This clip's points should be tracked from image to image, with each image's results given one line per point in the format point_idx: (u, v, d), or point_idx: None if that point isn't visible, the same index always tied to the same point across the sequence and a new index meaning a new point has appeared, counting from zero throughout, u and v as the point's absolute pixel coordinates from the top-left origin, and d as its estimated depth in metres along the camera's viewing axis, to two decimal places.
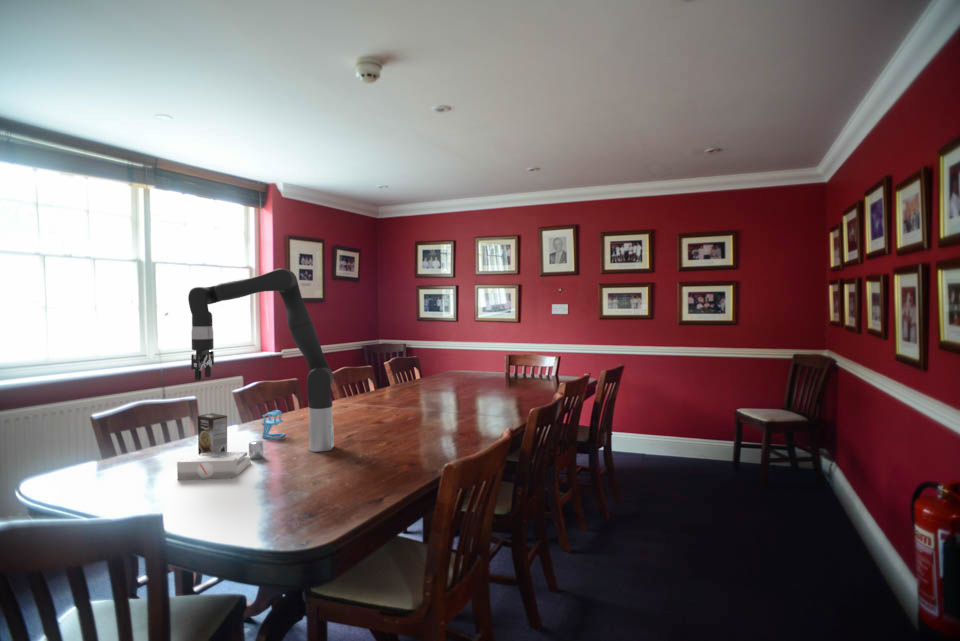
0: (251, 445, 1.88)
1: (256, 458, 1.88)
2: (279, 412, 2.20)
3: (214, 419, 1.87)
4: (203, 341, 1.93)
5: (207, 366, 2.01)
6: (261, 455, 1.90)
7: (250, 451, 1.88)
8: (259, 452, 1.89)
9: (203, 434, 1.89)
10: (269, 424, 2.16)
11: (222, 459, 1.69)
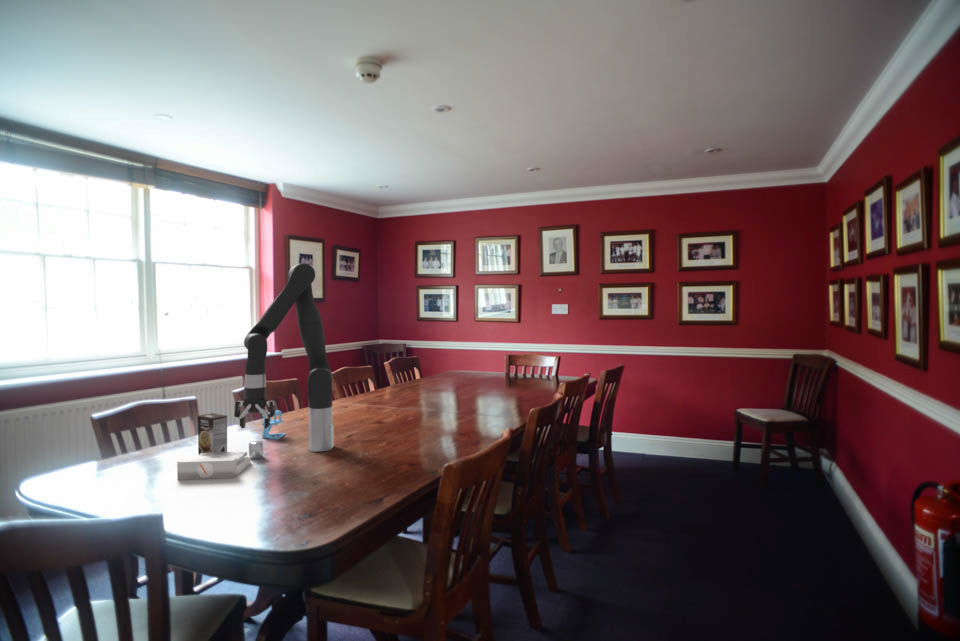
0: (251, 445, 1.88)
1: (256, 458, 1.88)
2: (279, 412, 2.20)
3: (214, 419, 1.87)
4: None
5: (243, 416, 1.89)
6: (261, 455, 1.90)
7: (250, 451, 1.88)
8: (259, 452, 1.89)
9: (203, 434, 1.89)
10: None
11: (222, 459, 1.69)
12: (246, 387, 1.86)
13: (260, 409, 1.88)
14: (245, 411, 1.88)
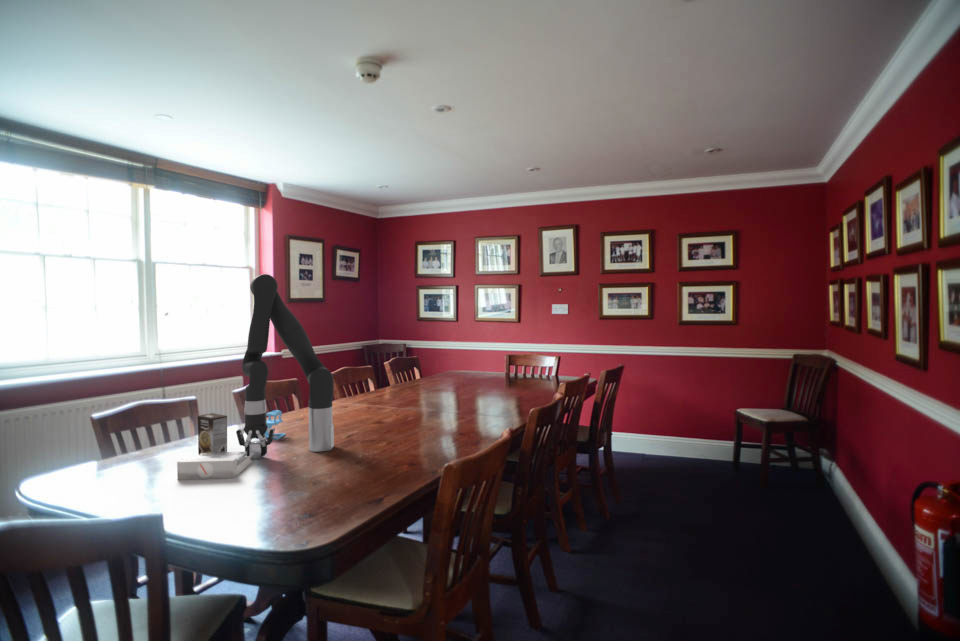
0: (251, 445, 1.88)
1: (256, 458, 1.88)
2: (279, 412, 2.20)
3: (214, 419, 1.87)
4: None
5: (248, 444, 1.90)
6: (261, 455, 1.90)
7: (250, 451, 1.88)
8: (259, 452, 1.89)
9: (203, 434, 1.89)
10: (269, 424, 2.16)
11: (222, 459, 1.69)
12: (246, 414, 1.86)
13: (260, 436, 1.89)
14: (248, 438, 1.88)
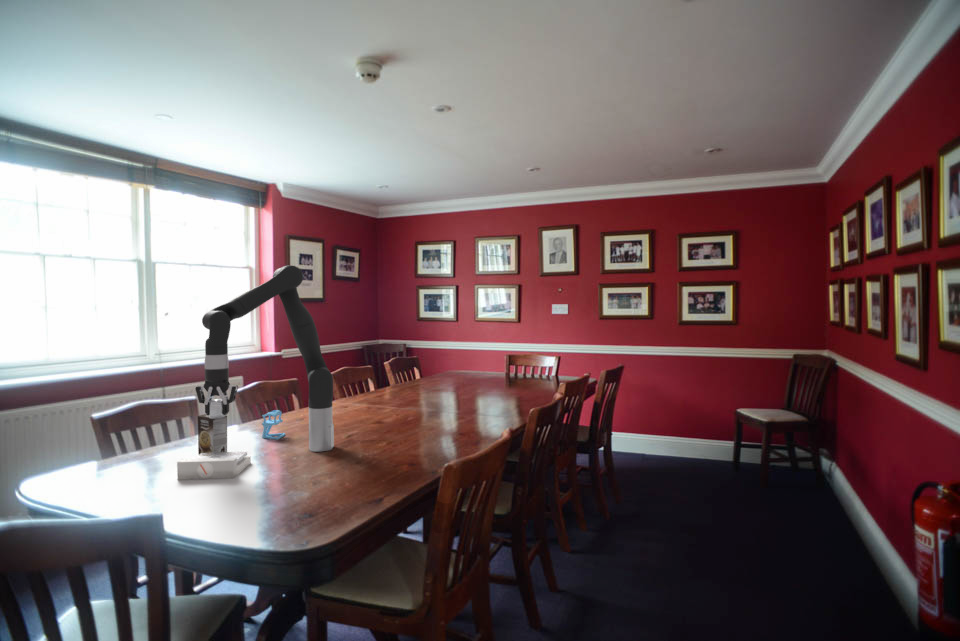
0: (211, 402, 1.75)
1: (217, 416, 1.75)
2: (279, 412, 2.20)
3: (214, 419, 1.87)
4: None
5: None
6: (222, 414, 1.76)
7: (210, 409, 1.75)
8: (219, 410, 1.75)
9: (203, 434, 1.89)
10: (269, 424, 2.16)
11: (222, 459, 1.69)
12: (206, 368, 1.73)
13: (221, 393, 1.75)
14: (208, 395, 1.75)
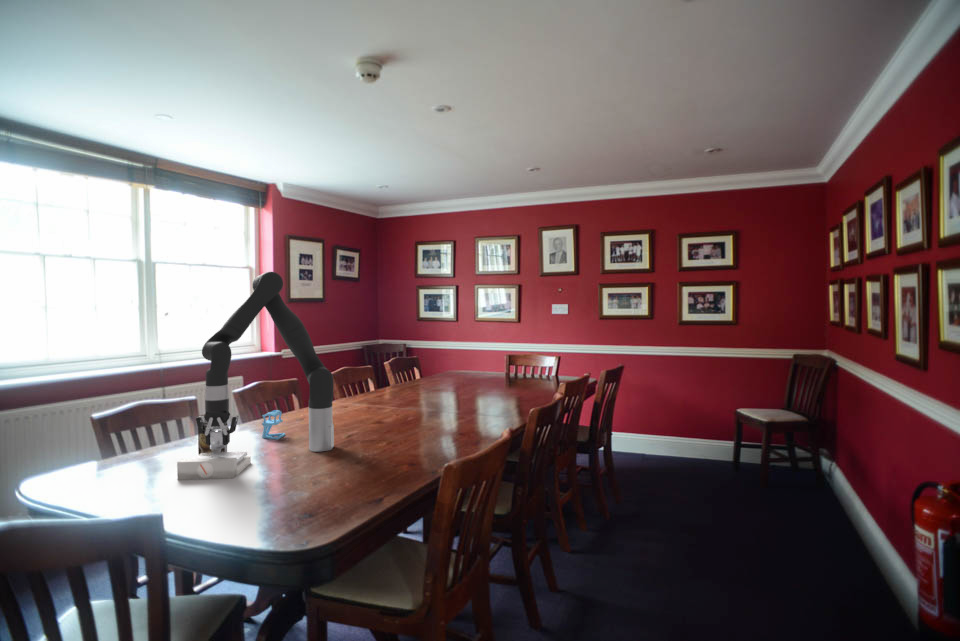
0: (212, 433, 1.75)
1: (217, 447, 1.75)
2: (279, 412, 2.20)
3: None
4: None
5: (209, 432, 1.77)
6: (223, 444, 1.77)
7: (211, 440, 1.75)
8: (220, 441, 1.76)
9: (203, 434, 1.89)
10: (269, 424, 2.16)
11: (222, 459, 1.69)
12: (207, 399, 1.74)
13: (221, 423, 1.76)
14: (208, 426, 1.75)
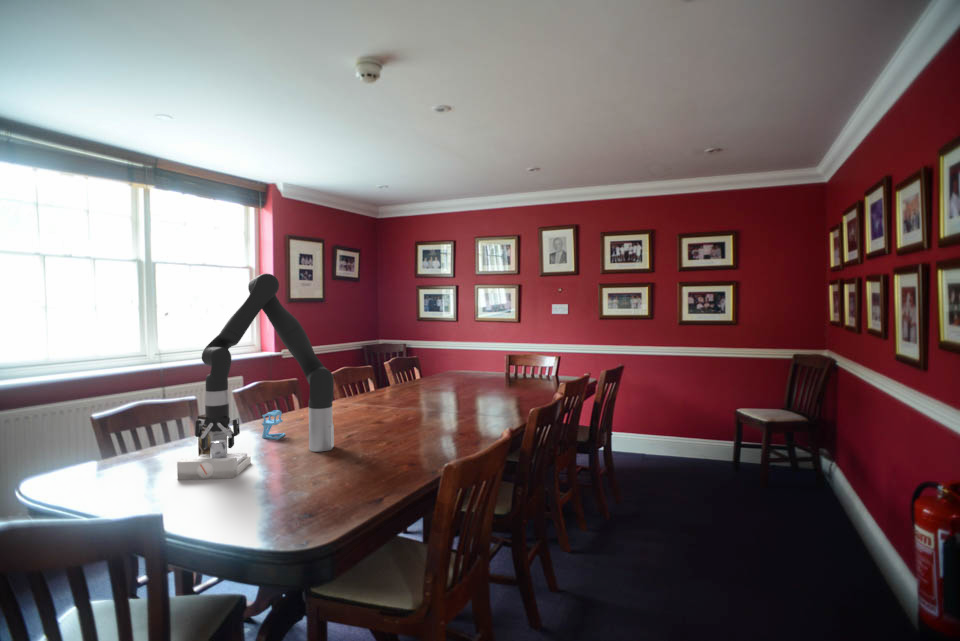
0: (212, 444, 1.75)
1: None
2: (279, 412, 2.20)
3: None
4: None
5: (205, 436, 1.77)
6: (224, 455, 1.77)
7: (211, 451, 1.75)
8: (221, 452, 1.76)
9: None
10: (269, 424, 2.16)
11: (222, 459, 1.69)
12: (207, 405, 1.73)
13: (223, 428, 1.76)
14: (207, 430, 1.75)
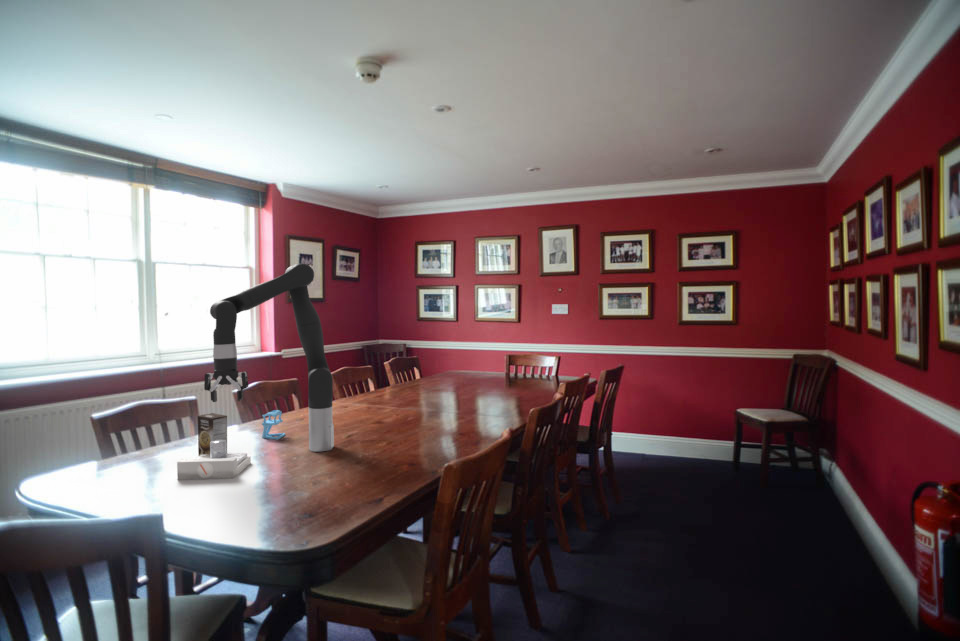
0: (212, 444, 1.75)
1: None
2: (279, 412, 2.20)
3: (214, 419, 1.87)
4: None
5: (214, 389, 1.79)
6: (223, 455, 1.77)
7: (211, 451, 1.75)
8: (220, 451, 1.76)
9: (203, 434, 1.89)
10: (269, 424, 2.16)
11: (222, 459, 1.69)
12: (215, 358, 1.76)
13: (232, 381, 1.78)
14: (216, 383, 1.78)
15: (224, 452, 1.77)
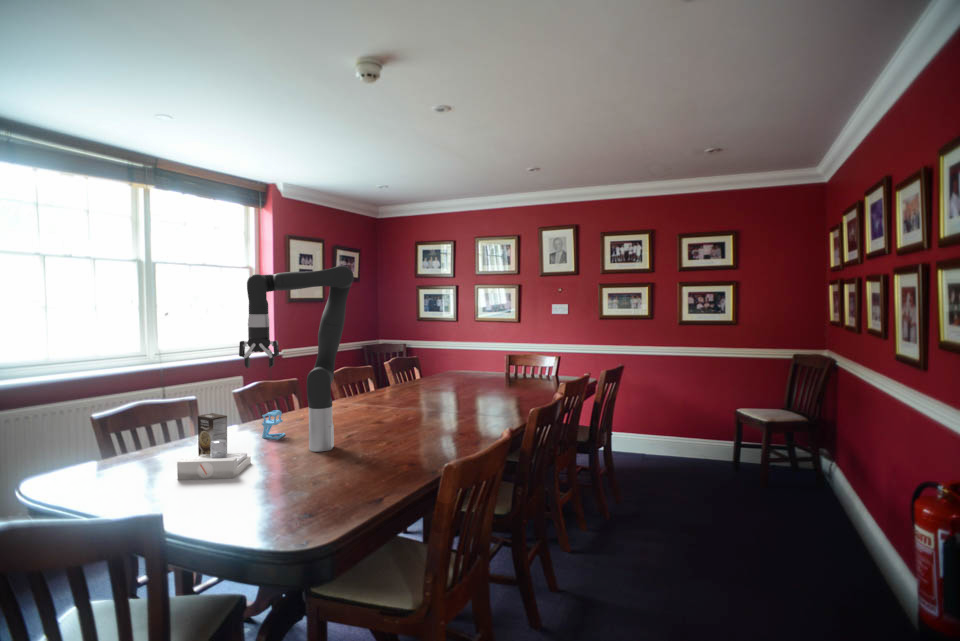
0: (212, 444, 1.75)
1: None
2: (279, 412, 2.20)
3: (214, 419, 1.87)
4: None
5: (248, 356, 1.93)
6: (223, 455, 1.76)
7: (211, 451, 1.75)
8: (220, 452, 1.76)
9: (203, 434, 1.89)
10: (269, 424, 2.16)
11: (222, 459, 1.69)
12: (250, 326, 1.90)
13: (264, 348, 1.92)
14: (249, 350, 1.92)
15: (224, 452, 1.77)
